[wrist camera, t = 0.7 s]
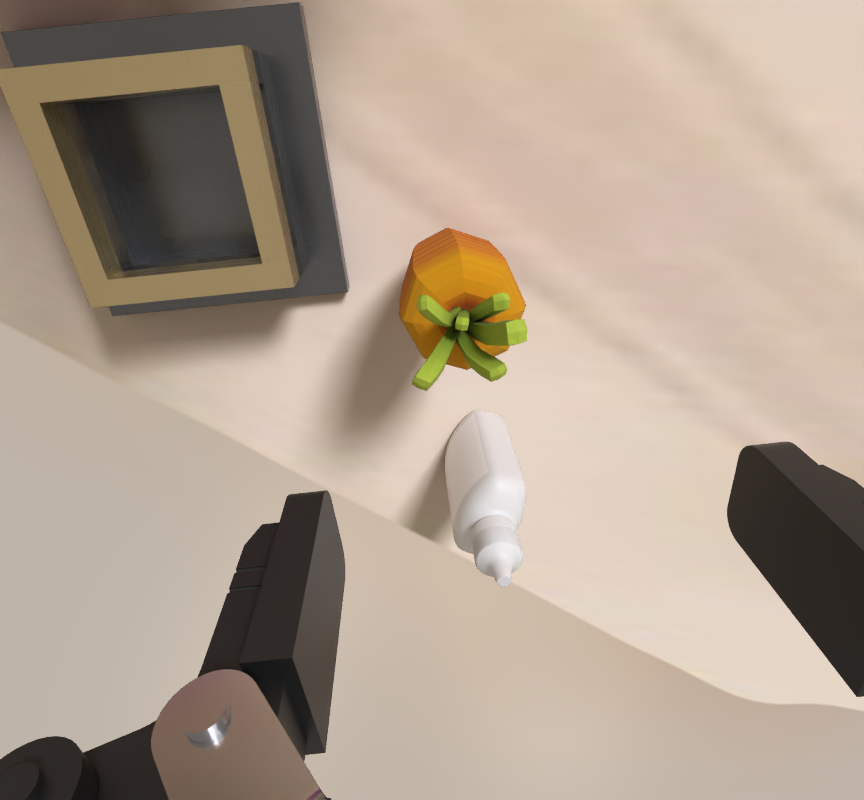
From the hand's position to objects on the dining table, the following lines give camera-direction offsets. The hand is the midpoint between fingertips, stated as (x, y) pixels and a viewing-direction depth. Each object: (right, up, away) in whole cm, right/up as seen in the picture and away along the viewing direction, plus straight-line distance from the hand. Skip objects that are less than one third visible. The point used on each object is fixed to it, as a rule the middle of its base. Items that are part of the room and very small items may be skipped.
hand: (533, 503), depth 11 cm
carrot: (-1, +10, +19) cm, 22 cm away
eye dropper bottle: (+1, -1, +26) cm, 26 cm away
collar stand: (-14, +13, +17) cm, 26 cm away
